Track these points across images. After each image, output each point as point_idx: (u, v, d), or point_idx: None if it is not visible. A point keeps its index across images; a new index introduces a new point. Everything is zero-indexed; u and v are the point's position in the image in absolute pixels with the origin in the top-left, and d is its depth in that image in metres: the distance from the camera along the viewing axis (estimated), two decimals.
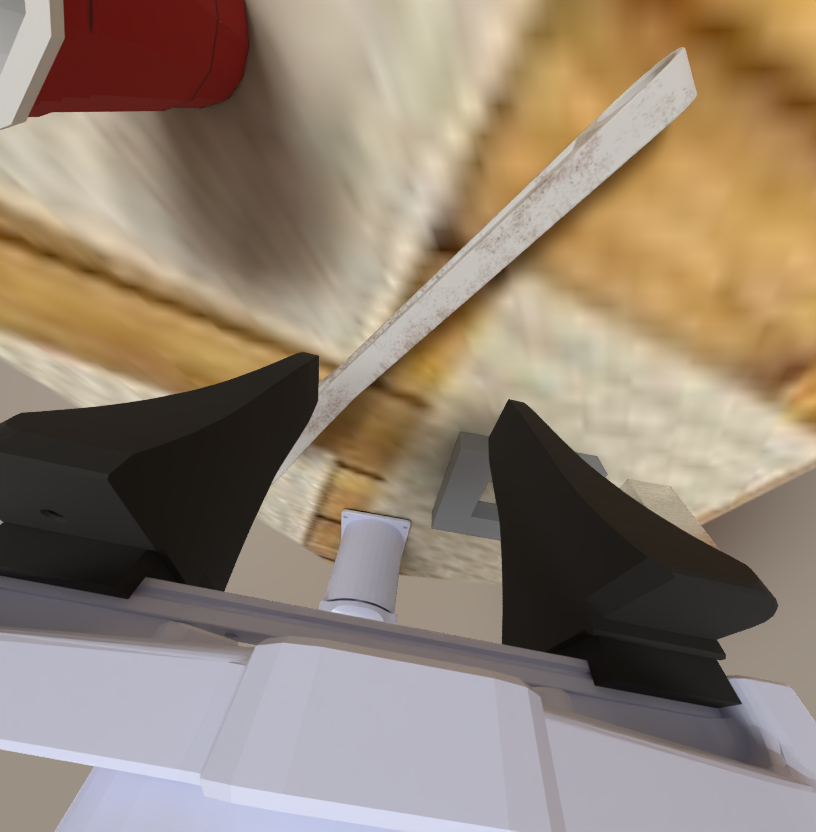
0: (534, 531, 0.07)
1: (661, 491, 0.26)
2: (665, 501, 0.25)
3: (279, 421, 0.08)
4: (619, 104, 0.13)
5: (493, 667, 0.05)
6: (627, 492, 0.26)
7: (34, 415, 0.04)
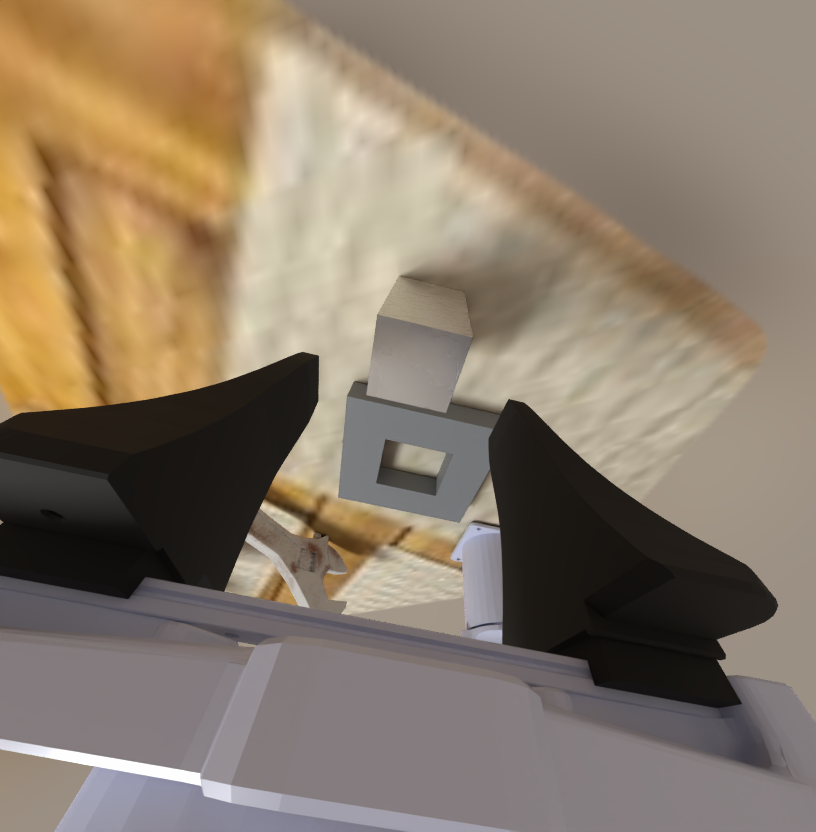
0: (534, 531, 0.07)
1: None
2: None
3: (279, 421, 0.08)
4: None
5: (493, 667, 0.05)
6: None
7: (34, 415, 0.04)
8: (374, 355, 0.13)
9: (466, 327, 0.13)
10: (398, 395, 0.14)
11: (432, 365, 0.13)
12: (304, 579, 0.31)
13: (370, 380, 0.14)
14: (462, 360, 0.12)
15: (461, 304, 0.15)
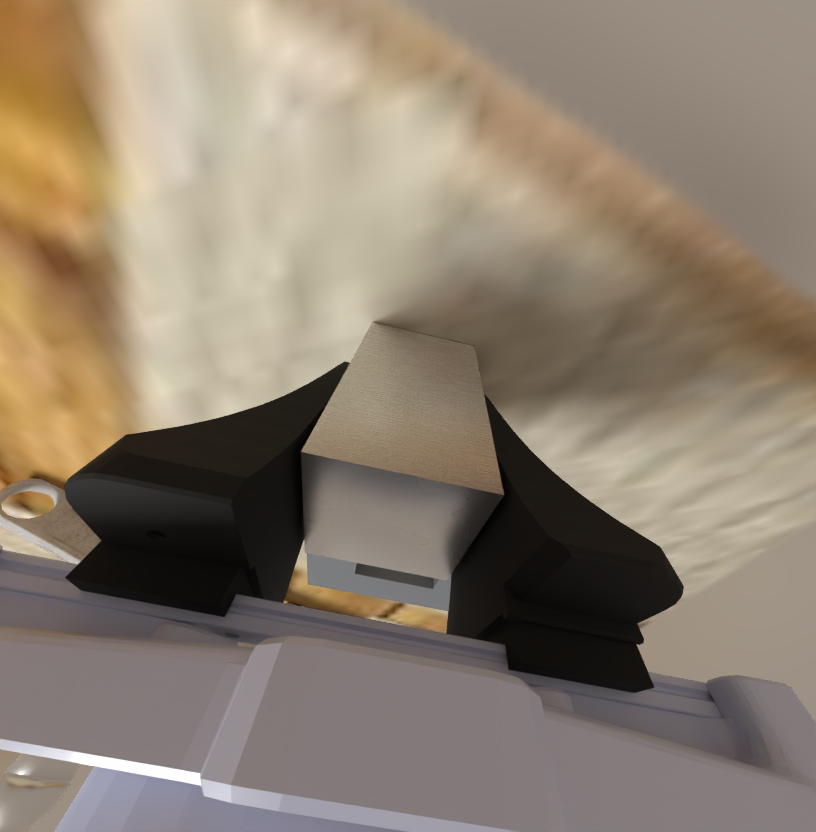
0: None
1: None
2: None
3: None
4: (47, 493, 0.21)
5: (493, 667, 0.05)
6: None
7: (138, 437, 0.04)
8: (308, 507, 0.07)
9: (487, 456, 0.06)
10: (361, 557, 0.08)
11: (419, 527, 0.07)
12: None
13: (308, 537, 0.07)
14: (479, 524, 0.06)
15: (472, 380, 0.09)
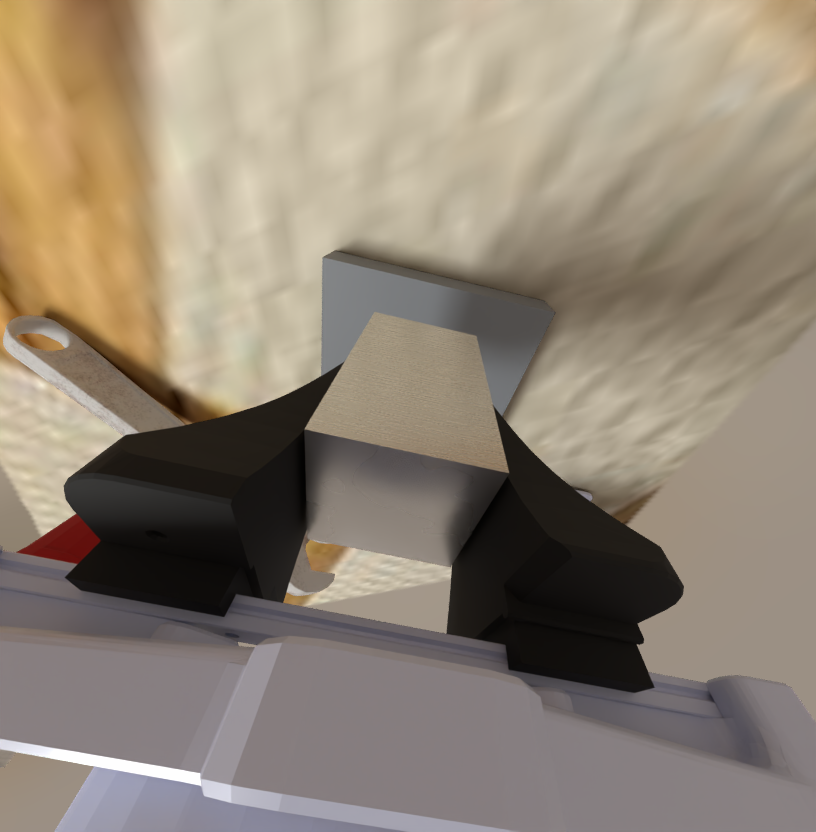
0: None
1: None
2: None
3: None
4: (58, 340, 0.21)
5: (493, 667, 0.05)
6: None
7: (137, 437, 0.04)
8: (311, 490, 0.07)
9: (491, 437, 0.06)
10: (364, 542, 0.08)
11: (423, 509, 0.07)
12: None
13: (310, 522, 0.07)
14: (483, 505, 0.06)
15: (475, 367, 0.09)
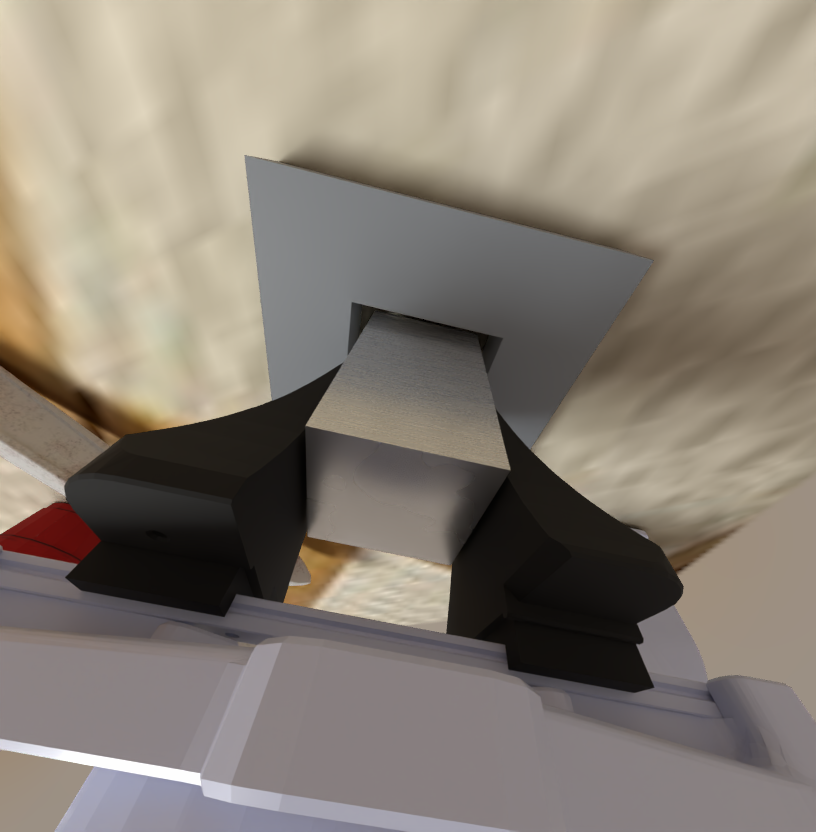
0: None
1: None
2: None
3: None
4: None
5: (493, 667, 0.05)
6: None
7: (138, 437, 0.04)
8: (311, 487, 0.07)
9: (492, 434, 0.06)
10: (364, 540, 0.08)
11: (424, 506, 0.07)
12: None
13: (311, 519, 0.07)
14: (484, 503, 0.06)
15: (476, 365, 0.09)
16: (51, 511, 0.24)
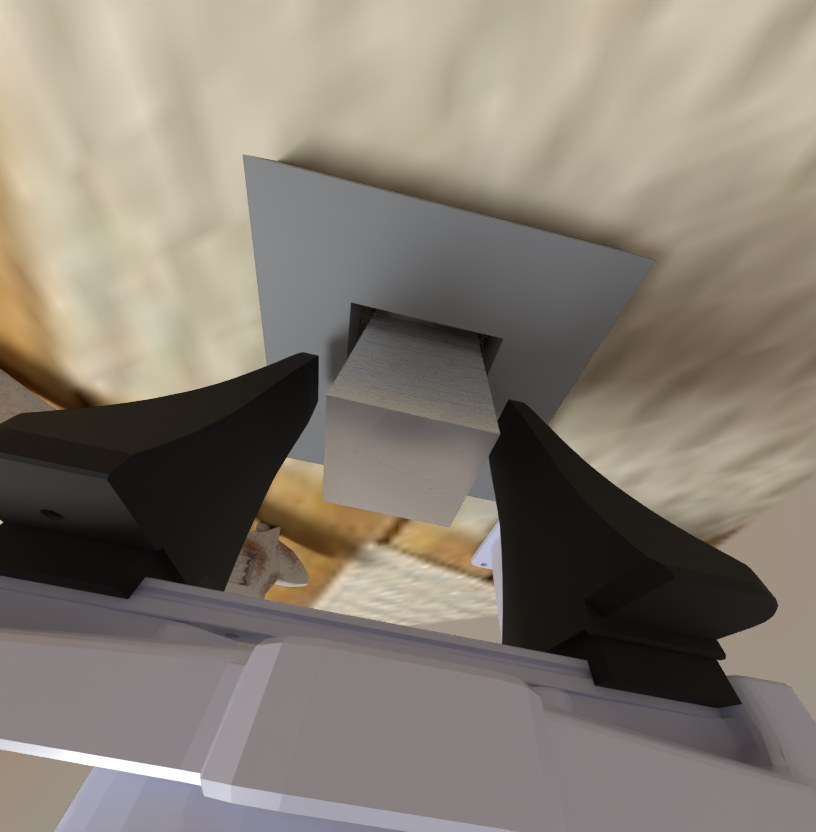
0: (534, 531, 0.07)
1: None
2: None
3: (279, 421, 0.08)
4: None
5: (493, 667, 0.05)
6: None
7: (34, 415, 0.04)
8: (328, 452, 0.08)
9: (485, 407, 0.07)
10: (373, 504, 0.09)
11: (426, 469, 0.08)
12: None
13: (326, 483, 0.08)
14: (478, 465, 0.07)
15: (473, 351, 0.10)
16: None
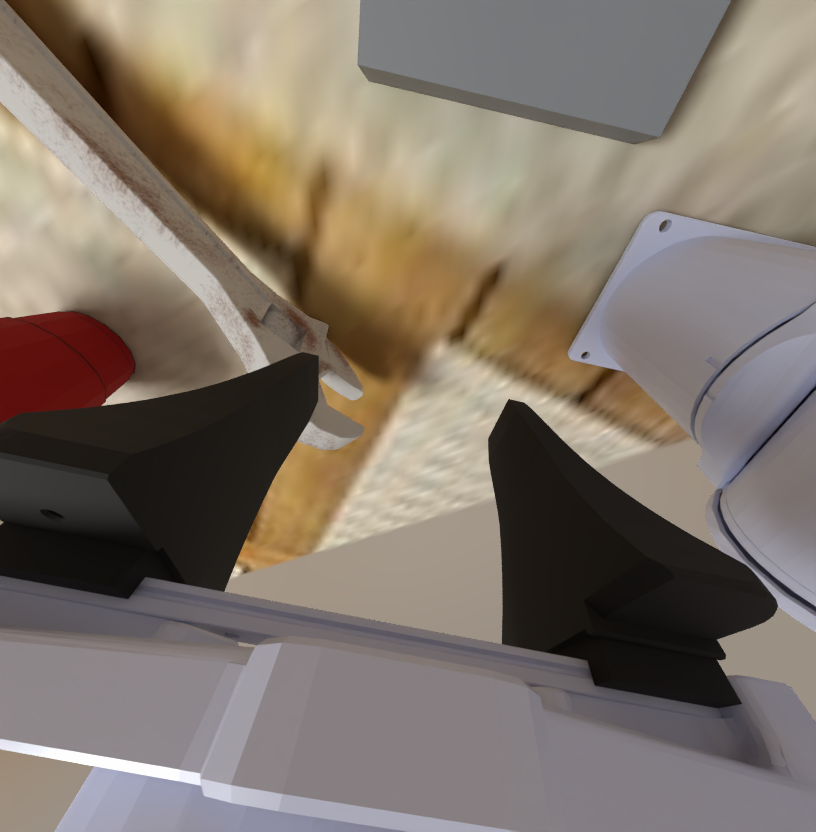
0: (534, 531, 0.07)
1: None
2: None
3: (279, 421, 0.08)
4: None
5: (493, 667, 0.05)
6: None
7: (34, 415, 0.04)
8: None
9: None
10: None
11: None
12: (276, 348, 0.15)
13: None
14: None
15: None
16: (55, 312, 0.20)
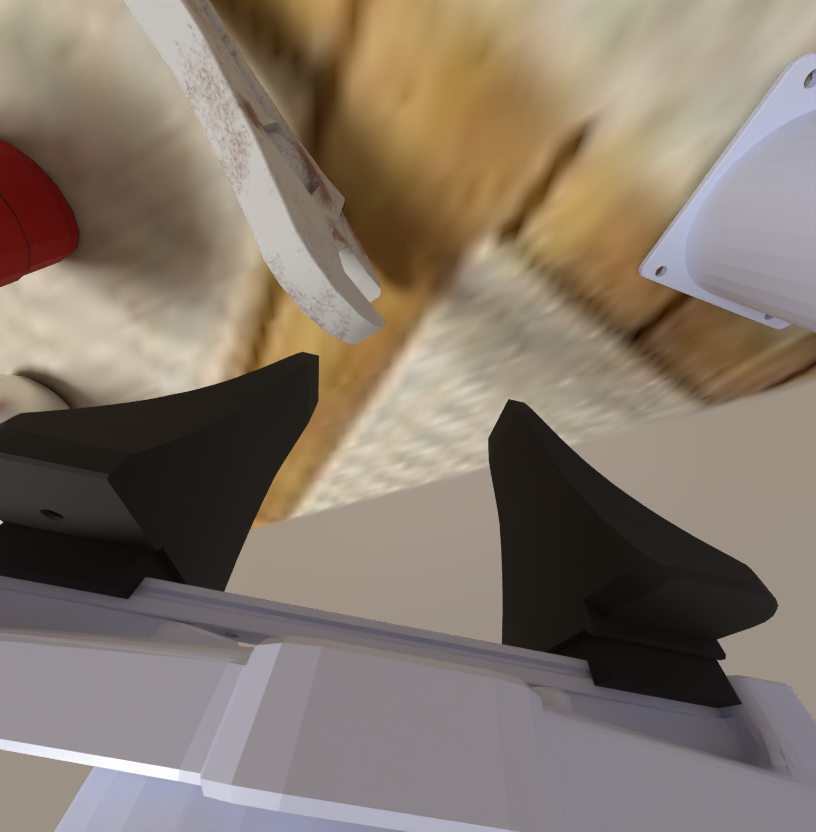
0: (534, 531, 0.07)
1: None
2: None
3: (279, 421, 0.08)
4: None
5: (493, 667, 0.05)
6: None
7: (33, 415, 0.04)
8: None
9: None
10: None
11: None
12: (281, 168, 0.10)
13: None
14: None
15: None
16: None
